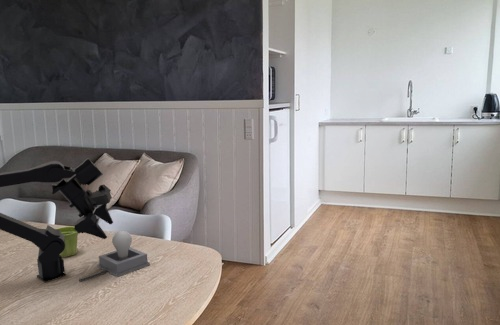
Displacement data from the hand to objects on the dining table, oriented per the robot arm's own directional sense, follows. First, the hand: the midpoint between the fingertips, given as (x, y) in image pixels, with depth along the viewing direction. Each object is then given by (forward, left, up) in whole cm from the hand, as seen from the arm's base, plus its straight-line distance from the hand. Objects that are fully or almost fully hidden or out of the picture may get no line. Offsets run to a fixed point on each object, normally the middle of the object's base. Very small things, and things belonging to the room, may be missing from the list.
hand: (109, 230), depth 140 cm
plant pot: (-5, +22, -12) cm, 26 cm away
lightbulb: (+2, -3, -11) cm, 12 cm away
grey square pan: (-2, -3, -12) cm, 13 cm away
